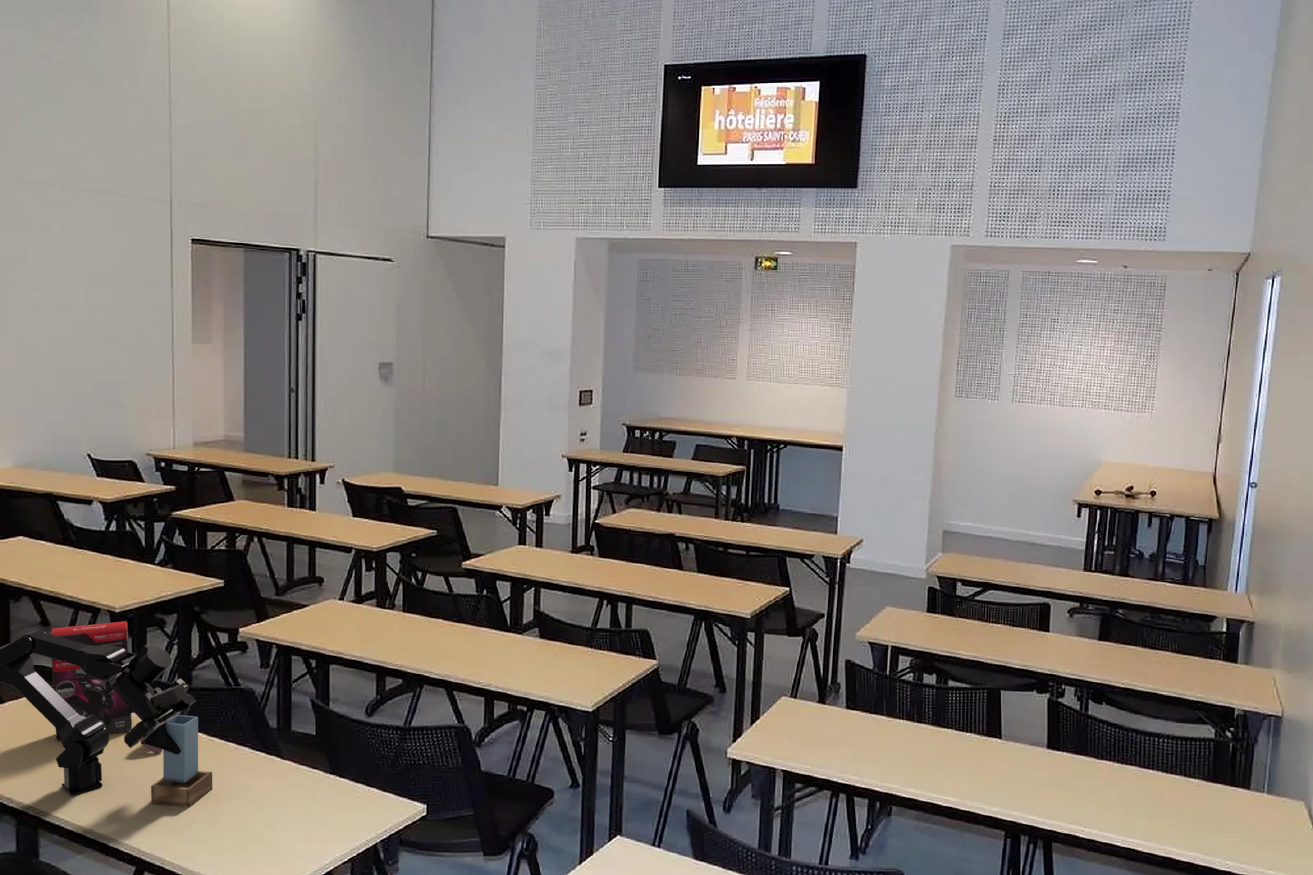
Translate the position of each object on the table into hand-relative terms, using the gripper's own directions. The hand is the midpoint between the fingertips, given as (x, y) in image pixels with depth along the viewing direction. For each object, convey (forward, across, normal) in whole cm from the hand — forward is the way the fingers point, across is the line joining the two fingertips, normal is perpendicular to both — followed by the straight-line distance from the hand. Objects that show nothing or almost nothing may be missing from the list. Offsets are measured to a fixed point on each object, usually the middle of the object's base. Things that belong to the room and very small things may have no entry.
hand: (186, 748), depth 228 cm
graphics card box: (-22, +28, +38) cm, 52 cm away
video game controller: (-7, +24, +24) cm, 34 cm away
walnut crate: (+7, 0, +9) cm, 11 cm away
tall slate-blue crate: (+4, 0, +6) cm, 7 cm away
